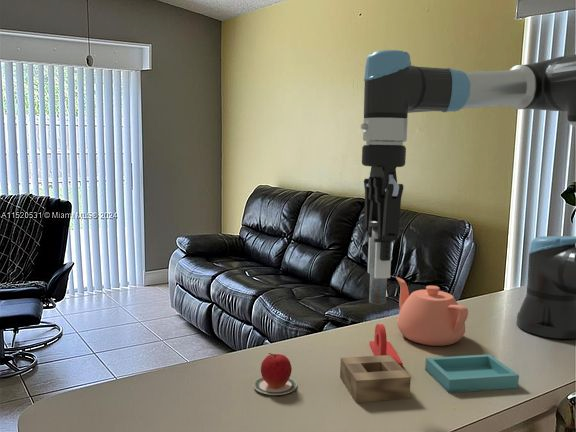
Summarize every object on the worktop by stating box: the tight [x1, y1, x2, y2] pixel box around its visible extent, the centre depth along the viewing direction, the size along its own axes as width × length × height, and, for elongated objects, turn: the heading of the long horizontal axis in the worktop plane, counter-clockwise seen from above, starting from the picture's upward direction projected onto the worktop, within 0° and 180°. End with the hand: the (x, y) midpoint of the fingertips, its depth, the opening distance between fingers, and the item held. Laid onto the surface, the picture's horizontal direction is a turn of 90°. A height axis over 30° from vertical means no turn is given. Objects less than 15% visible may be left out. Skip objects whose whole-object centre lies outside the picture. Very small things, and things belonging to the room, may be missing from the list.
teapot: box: [395, 276, 469, 347], centre depth 126 cm, size 22×15×12 cm
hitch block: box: [339, 355, 412, 403], centre depth 100 cm, size 10×10×4 cm
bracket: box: [368, 323, 403, 368], centre depth 114 cm, size 12×4×8 cm, turn 2°
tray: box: [424, 354, 520, 394], centre depth 104 cm, size 14×10×2 cm
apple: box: [253, 352, 298, 396], centre depth 99 cm, size 8×8×6 cm
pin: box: [368, 220, 388, 306], centre depth 97 cm, size 4×4×15 cm
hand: (378, 274), depth 97 cm, fingers closed on pin, 3 cm apart
